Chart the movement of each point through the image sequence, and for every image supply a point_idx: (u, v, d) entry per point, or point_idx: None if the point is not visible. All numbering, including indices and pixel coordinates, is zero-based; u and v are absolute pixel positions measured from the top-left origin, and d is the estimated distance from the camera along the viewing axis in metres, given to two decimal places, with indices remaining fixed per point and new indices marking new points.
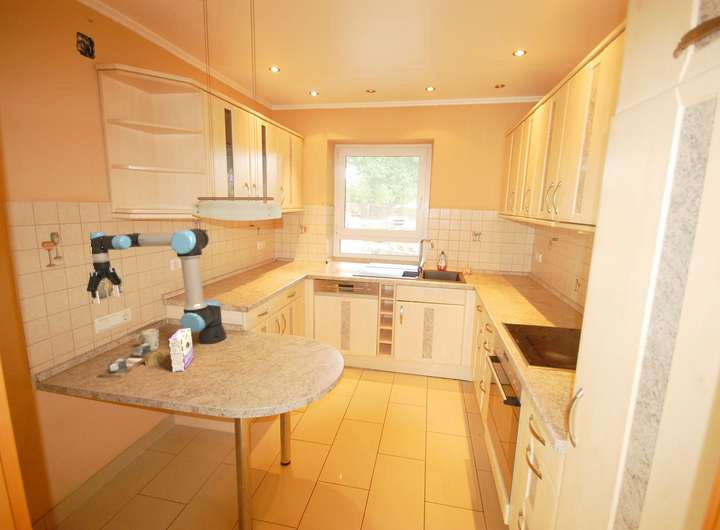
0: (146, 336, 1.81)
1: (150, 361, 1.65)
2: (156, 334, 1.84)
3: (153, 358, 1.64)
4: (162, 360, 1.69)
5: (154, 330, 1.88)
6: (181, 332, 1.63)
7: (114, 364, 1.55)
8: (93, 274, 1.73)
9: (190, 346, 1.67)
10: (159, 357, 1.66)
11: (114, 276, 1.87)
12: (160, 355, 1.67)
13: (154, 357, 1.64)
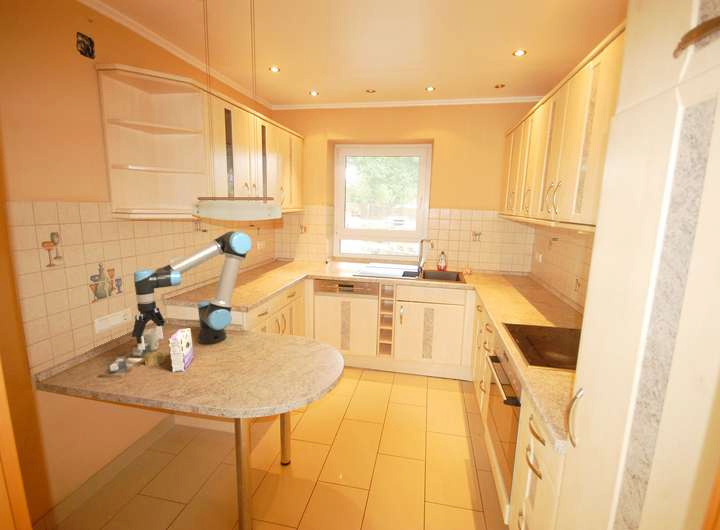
0: (146, 336, 1.81)
1: (150, 361, 1.65)
2: (156, 334, 1.84)
3: (153, 358, 1.64)
4: (162, 360, 1.69)
5: (154, 330, 1.88)
6: (181, 332, 1.63)
7: (114, 364, 1.55)
8: (139, 317, 1.56)
9: (190, 346, 1.67)
10: (159, 357, 1.66)
11: (158, 316, 1.71)
12: (160, 355, 1.67)
13: (154, 357, 1.64)
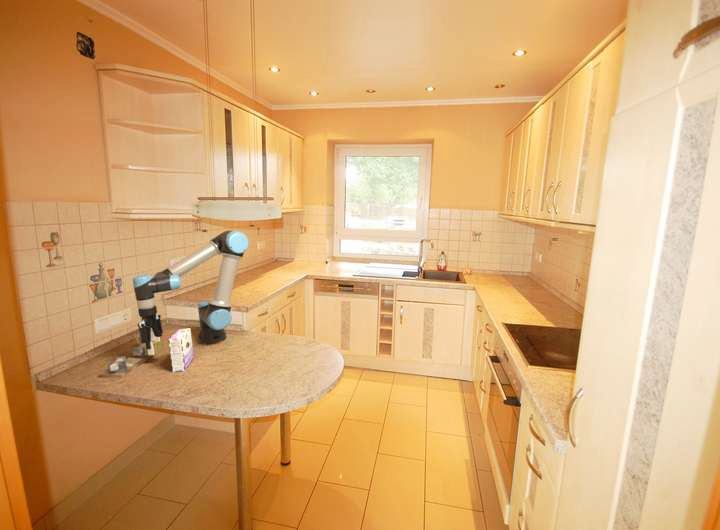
0: None
1: None
2: None
3: None
4: (162, 349, 1.68)
5: None
6: (181, 332, 1.63)
7: (114, 364, 1.55)
8: (142, 326, 1.58)
9: (190, 346, 1.67)
10: (159, 346, 1.66)
11: (157, 324, 1.69)
12: (160, 344, 1.67)
13: (153, 346, 1.64)
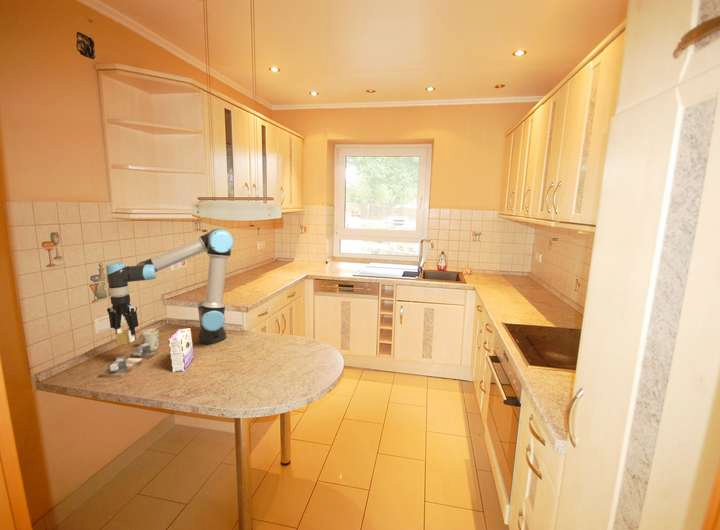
0: (146, 336, 1.81)
1: None
2: (156, 334, 1.84)
3: None
4: (125, 342, 1.62)
5: (154, 330, 1.88)
6: (181, 332, 1.63)
7: (114, 364, 1.55)
8: None
9: (190, 346, 1.67)
10: (120, 337, 1.62)
11: None
12: (122, 336, 1.62)
13: None
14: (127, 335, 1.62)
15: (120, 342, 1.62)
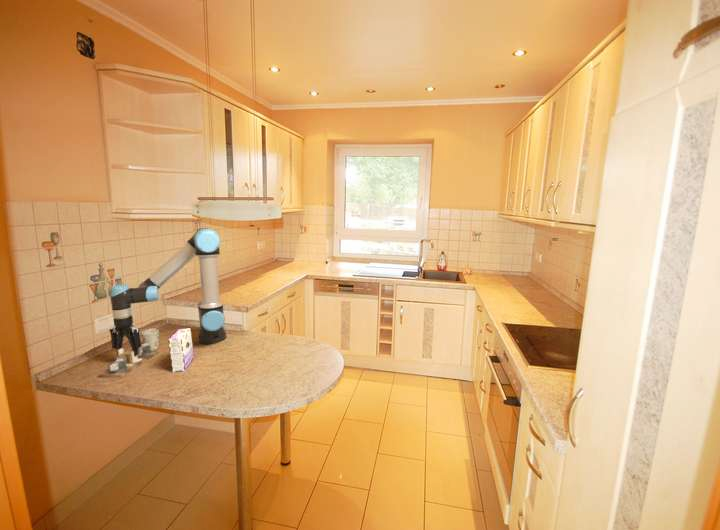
0: (146, 336, 1.81)
1: None
2: (156, 334, 1.84)
3: None
4: (128, 363, 1.64)
5: (154, 330, 1.88)
6: (181, 332, 1.63)
7: (114, 364, 1.55)
8: None
9: (190, 346, 1.67)
10: None
11: None
12: None
13: None
14: (130, 355, 1.64)
15: None
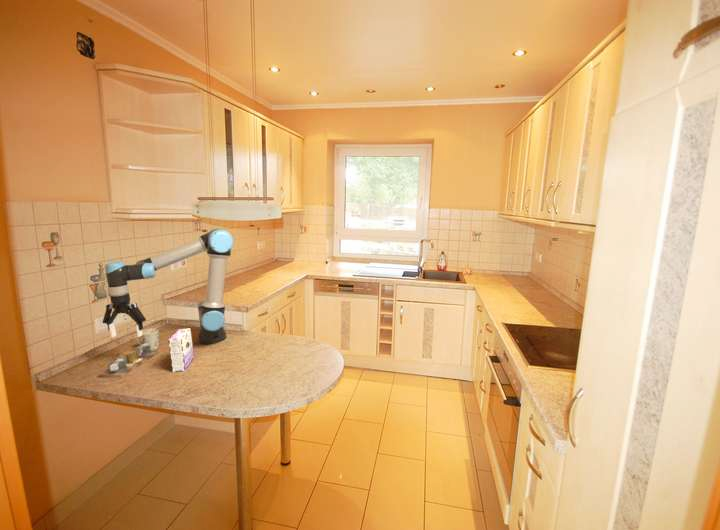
0: (146, 336, 1.81)
1: None
2: (156, 334, 1.84)
3: None
4: (128, 363, 1.64)
5: (154, 330, 1.88)
6: (181, 332, 1.63)
7: (114, 364, 1.55)
8: None
9: (190, 346, 1.67)
10: None
11: None
12: None
13: None
14: (130, 355, 1.64)
15: None
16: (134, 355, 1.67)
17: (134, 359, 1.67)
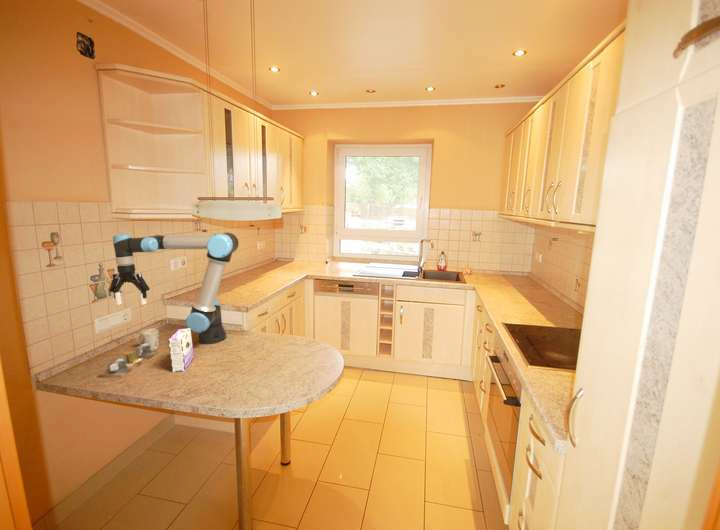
0: (146, 336, 1.81)
1: None
2: (156, 334, 1.84)
3: None
4: (128, 363, 1.64)
5: (154, 330, 1.88)
6: (181, 332, 1.63)
7: (114, 364, 1.55)
8: None
9: (190, 346, 1.67)
10: None
11: None
12: None
13: None
14: (130, 355, 1.64)
15: None
16: (134, 355, 1.67)
17: (134, 359, 1.67)
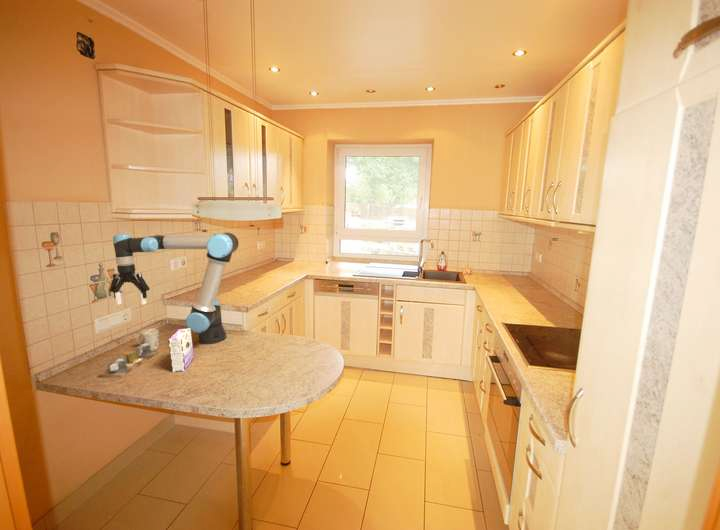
0: (146, 336, 1.81)
1: None
2: (156, 334, 1.84)
3: None
4: (128, 363, 1.64)
5: (154, 330, 1.88)
6: (181, 332, 1.63)
7: (114, 364, 1.55)
8: None
9: (190, 346, 1.67)
10: None
11: None
12: None
13: None
14: (130, 355, 1.64)
15: None
16: (134, 355, 1.67)
17: (134, 359, 1.67)
